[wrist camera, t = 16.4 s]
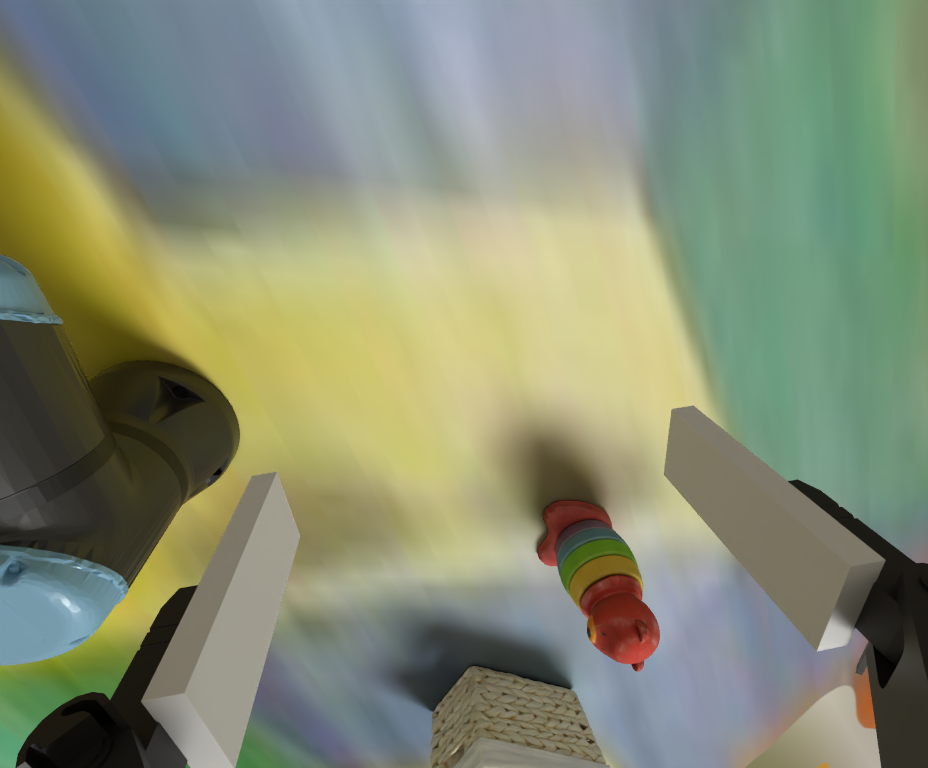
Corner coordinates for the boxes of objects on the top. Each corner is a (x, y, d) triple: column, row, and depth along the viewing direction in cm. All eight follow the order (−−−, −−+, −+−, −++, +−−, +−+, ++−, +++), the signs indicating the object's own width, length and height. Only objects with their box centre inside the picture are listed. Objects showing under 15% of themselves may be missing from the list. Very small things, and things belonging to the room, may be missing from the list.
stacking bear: (544, 500, 58) (599, 625, 42) (618, 496, 59) (698, 617, 43) (535, 560, 62) (581, 694, 46) (603, 556, 64) (670, 684, 48)
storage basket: (419, 712, 75) (423, 829, 61) (467, 654, 69) (482, 767, 56) (534, 734, 82) (559, 842, 69) (585, 683, 77) (622, 788, 64)
